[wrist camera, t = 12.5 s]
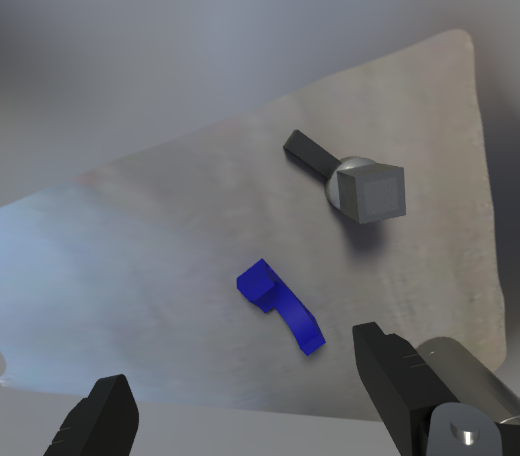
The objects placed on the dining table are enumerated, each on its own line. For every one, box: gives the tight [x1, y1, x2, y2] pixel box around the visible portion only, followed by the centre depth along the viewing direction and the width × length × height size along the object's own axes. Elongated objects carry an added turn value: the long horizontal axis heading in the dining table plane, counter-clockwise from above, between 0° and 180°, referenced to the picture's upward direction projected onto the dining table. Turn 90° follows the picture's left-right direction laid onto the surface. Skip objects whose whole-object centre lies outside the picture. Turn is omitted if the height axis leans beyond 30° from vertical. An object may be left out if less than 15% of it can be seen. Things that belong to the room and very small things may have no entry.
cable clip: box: [237, 258, 326, 356], centre depth 41 cm, size 12×4×6 cm, turn 39°
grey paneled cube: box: [336, 163, 406, 224], centre depth 35 cm, size 5×5×6 cm
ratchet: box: [283, 130, 376, 211], centre depth 37 cm, size 14×7×6 cm, turn 56°
